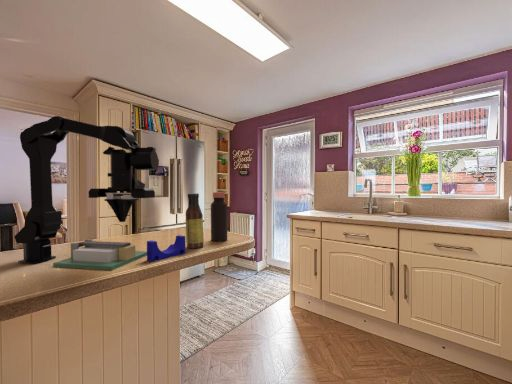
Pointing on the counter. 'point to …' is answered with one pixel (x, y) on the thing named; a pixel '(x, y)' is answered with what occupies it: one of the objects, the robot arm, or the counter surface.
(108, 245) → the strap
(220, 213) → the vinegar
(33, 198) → the robot arm
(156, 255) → the blue cradle block
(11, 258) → the counter surface
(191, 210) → the sauce bottle
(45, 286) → the counter surface
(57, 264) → the board
